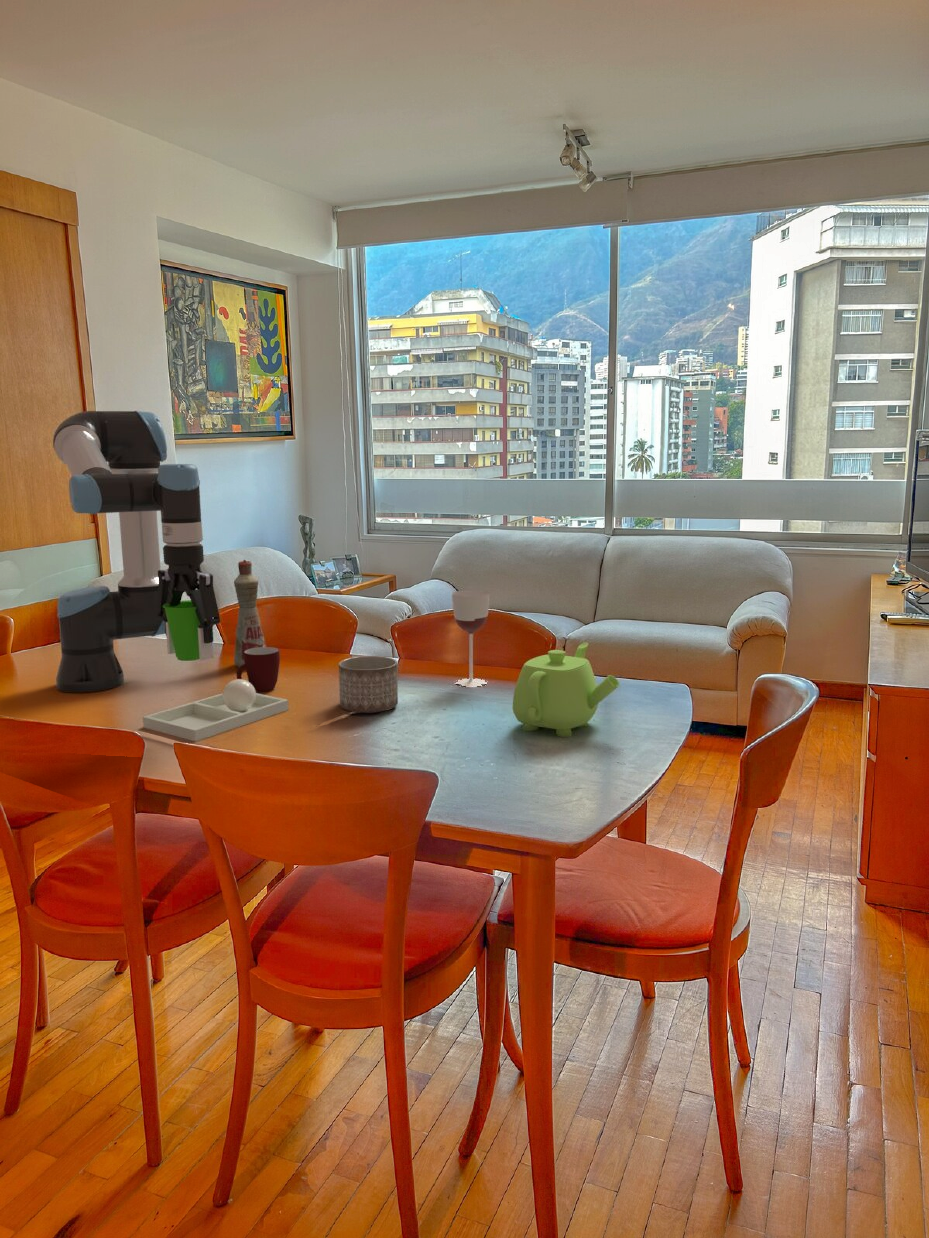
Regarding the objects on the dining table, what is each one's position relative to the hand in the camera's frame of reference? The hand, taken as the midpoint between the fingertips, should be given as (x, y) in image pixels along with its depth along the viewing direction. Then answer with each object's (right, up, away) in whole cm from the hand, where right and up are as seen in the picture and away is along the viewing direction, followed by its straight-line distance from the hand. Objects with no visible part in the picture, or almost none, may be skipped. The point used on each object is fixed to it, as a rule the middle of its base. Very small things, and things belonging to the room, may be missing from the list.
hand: (190, 655), depth 180 cm
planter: (+34, -13, +17) cm, 40 cm away
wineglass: (+57, -8, +38) cm, 69 cm away
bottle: (-1, -5, +56) cm, 56 cm away
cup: (0, -1, 0) cm, 1 cm away
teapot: (+77, -15, +4) cm, 78 cm away
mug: (+7, -10, +29) cm, 32 cm away
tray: (+3, -14, +8) cm, 17 cm away
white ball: (+7, -12, +13) cm, 19 cm away
